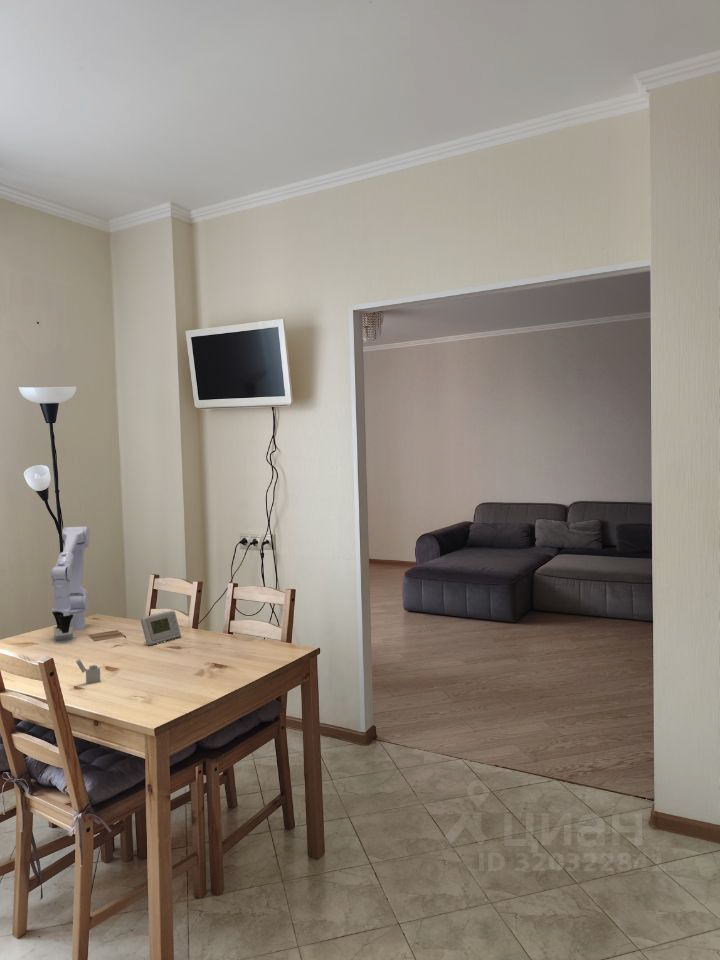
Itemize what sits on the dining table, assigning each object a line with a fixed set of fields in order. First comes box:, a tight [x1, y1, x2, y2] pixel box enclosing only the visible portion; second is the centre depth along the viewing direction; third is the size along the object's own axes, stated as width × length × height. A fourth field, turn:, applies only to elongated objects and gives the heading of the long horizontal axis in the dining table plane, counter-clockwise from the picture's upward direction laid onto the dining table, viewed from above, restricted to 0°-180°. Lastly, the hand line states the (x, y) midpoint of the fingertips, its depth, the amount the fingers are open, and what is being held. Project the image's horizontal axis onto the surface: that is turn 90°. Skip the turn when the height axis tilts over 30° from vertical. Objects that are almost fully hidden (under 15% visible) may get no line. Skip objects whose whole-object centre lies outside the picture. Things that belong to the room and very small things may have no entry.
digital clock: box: [140, 610, 181, 646], centre depth 271 cm, size 16×9×11 cm, turn 133°
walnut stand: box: [87, 630, 127, 642], centre depth 275 cm, size 12×12×2 cm
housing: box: [53, 625, 74, 642], centre depth 270 cm, size 4×6×5 cm, turn 125°
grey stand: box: [50, 636, 77, 644], centre depth 270 cm, size 8×8×2 cm
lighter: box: [75, 658, 101, 684], centre depth 222 cm, size 7×2×8 cm, turn 121°
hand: (63, 630), depth 270 cm, fingers open, 7 cm apart
